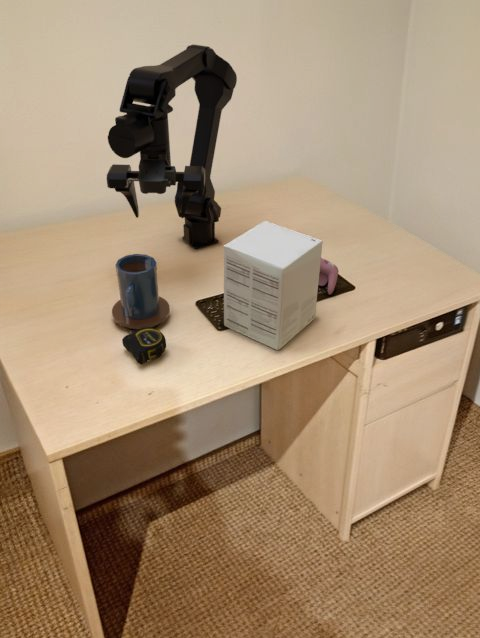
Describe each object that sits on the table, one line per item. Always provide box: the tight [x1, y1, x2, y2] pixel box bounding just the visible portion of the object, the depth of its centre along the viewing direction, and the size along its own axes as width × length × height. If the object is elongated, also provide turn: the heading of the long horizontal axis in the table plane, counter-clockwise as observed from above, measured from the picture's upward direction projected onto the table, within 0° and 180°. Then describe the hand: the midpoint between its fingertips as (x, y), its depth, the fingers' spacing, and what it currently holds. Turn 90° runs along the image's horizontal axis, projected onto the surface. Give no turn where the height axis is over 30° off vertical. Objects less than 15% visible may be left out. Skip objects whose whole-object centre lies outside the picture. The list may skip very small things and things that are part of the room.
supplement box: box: [223, 220, 324, 351], centre depth 114 cm, size 13×13×18 cm
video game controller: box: [318, 257, 339, 295], centre depth 129 cm, size 10×5×7 cm, turn 71°
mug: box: [111, 253, 171, 329], centre depth 115 cm, size 12×11×11 cm
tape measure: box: [121, 328, 167, 366], centre depth 109 cm, size 7×7×4 cm
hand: (160, 217), depth 125 cm, fingers open, 9 cm apart
